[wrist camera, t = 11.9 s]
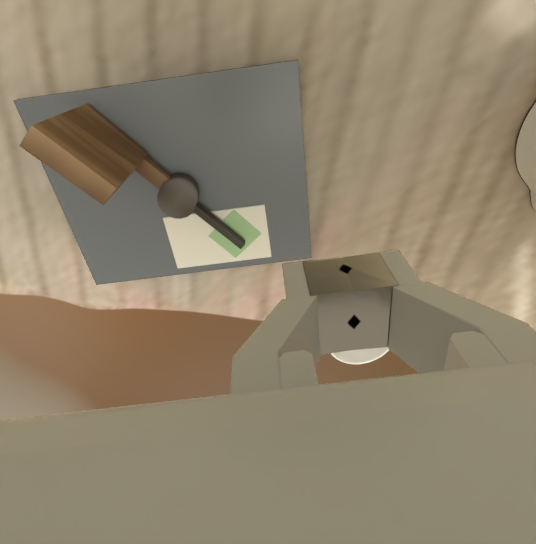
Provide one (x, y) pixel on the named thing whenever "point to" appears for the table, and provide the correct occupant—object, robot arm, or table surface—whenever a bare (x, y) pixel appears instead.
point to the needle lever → (112, 163)
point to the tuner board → (194, 172)
